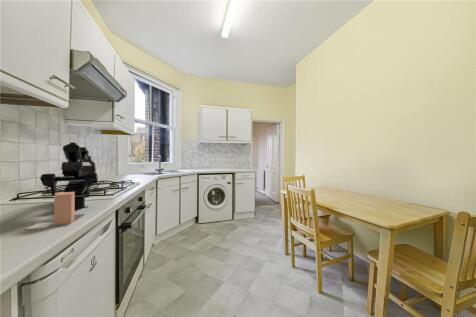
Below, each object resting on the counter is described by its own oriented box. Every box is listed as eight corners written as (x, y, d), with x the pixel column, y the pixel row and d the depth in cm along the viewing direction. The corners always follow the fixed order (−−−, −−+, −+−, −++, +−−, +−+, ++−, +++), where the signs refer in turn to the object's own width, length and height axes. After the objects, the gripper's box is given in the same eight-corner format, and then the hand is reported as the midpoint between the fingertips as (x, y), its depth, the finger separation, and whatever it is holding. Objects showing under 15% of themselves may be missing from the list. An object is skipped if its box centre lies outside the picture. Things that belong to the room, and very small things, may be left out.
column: (58, 221, 75) (58, 192, 75) (74, 219, 77) (74, 191, 77) (54, 225, 71) (54, 195, 70) (71, 223, 73) (71, 194, 73)
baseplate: (52, 217, 80) (52, 215, 80) (85, 215, 84) (85, 213, 84) (24, 231, 66) (24, 229, 66) (66, 228, 70) (66, 226, 70)
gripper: (41, 155, 76) (29, 185, 67) (97, 155, 86) (93, 182, 77) (48, 171, 83) (38, 201, 74) (99, 170, 93) (95, 196, 84)
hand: (67, 194), depth 77 cm, fingers open, 9 cm apart
